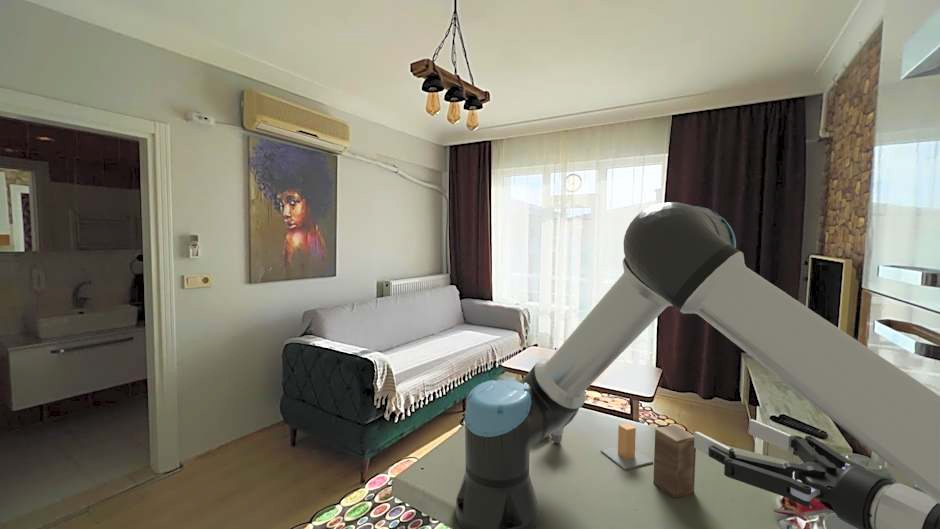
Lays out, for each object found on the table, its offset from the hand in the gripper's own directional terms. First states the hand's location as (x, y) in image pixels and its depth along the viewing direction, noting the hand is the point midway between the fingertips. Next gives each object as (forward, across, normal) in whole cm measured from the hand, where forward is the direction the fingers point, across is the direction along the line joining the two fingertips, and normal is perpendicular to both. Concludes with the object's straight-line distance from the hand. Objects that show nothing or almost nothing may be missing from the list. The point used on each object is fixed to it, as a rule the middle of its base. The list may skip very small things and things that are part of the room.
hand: (723, 432), depth 69 cm
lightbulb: (+33, -13, -16) cm, 39 cm away
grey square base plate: (+22, -1, -16) cm, 28 cm away
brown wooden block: (+10, 0, -16) cm, 19 cm away
